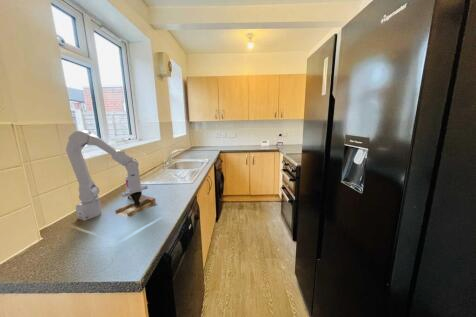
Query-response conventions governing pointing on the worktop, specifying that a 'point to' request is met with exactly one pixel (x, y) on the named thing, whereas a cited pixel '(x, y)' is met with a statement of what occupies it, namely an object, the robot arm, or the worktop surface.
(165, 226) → the worktop surface
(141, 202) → the block
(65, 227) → the worktop surface
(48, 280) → the worktop surface
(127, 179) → the supplement can
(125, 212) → the guide channel
